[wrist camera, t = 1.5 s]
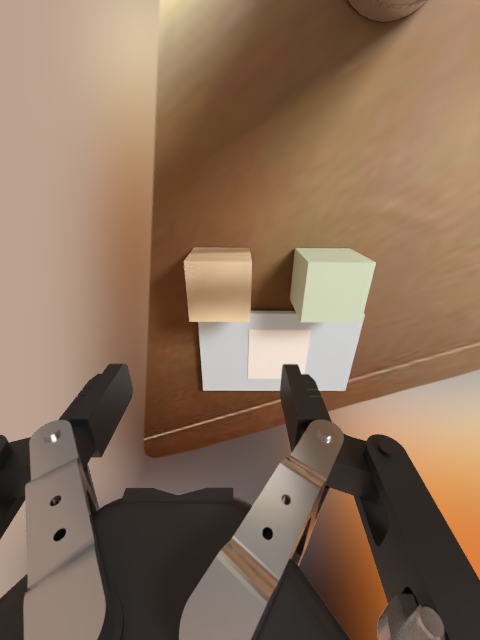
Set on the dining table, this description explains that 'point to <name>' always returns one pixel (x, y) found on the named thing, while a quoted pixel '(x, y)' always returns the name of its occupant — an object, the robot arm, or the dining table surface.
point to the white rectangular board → (275, 351)
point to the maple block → (218, 284)
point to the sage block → (330, 284)
